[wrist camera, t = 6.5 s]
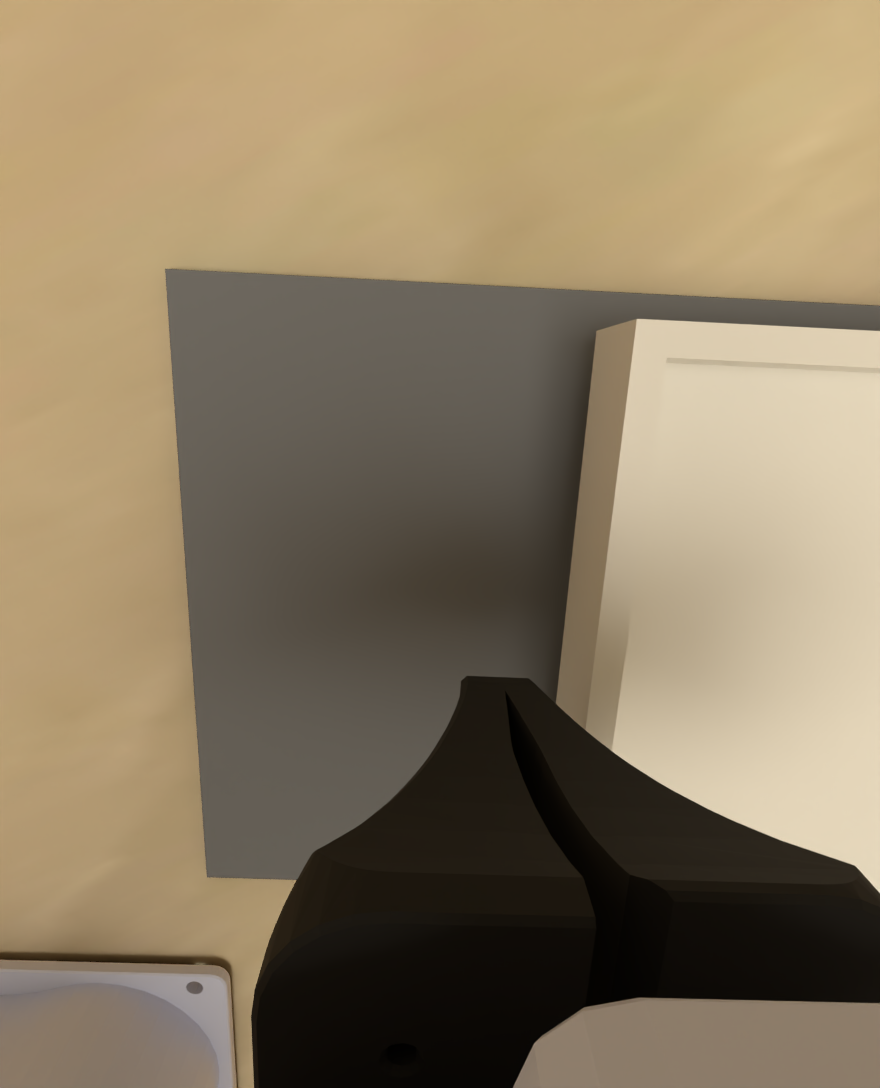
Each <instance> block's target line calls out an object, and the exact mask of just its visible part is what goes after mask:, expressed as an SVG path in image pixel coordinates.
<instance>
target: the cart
mask: <svg viewBox="0 0 880 1088" xmlns="http://www.w3.org/2000/svg"><path fill="white" fill-rule="evenodd" d="M556 704H557V705H558V706H559V707H560V708H561V709H562V710H563V711H564V712H565V713H566V714H568V715H569V716H570V717H571V718H572V719H573V720H574V721H575V722H577V723H578V724H579V725H580V726H581V727H582V728H583V729H585V730H586V731H587V732H588V733H589V734H591V735H592V736H593V737H594V738H596V739H597V740H598V741H599V742H601V743H602V744H603V745H605V746H606V747H607V748H609V749H610V750H611V751H612V752H614V753H615V754H616V755H618V756H619V757H621V758H622V759H623V760H625V761H626V762H628V763H629V764H631V765H632V766H634V767H635V768H637V769H638V770H640V771H642V772H643V773H645V774H646V775H648V776H649V777H651V778H653V779H654V780H656V781H657V782H659V783H661V784H662V785H664V786H666V787H668V788H669V789H671V790H673V791H675V792H676V793H678V794H680V795H682V796H684V797H686V798H688V799H690V800H692V801H694V802H696V803H698V804H699V805H701V806H703V807H705V808H707V809H709V810H711V811H713V812H715V813H718V814H720V815H722V816H724V817H726V818H728V819H731V820H733V821H735V822H737V823H740V824H742V825H745V826H747V827H749V828H752V829H754V830H757V831H759V832H761V833H764V834H766V835H769V836H771V837H773V838H776V839H779V840H781V841H784V842H787V843H790V844H793V845H796V846H799V847H802V848H805V849H808V850H811V851H814V852H816V853H819V854H822V855H825V856H828V857H831V858H834V859H837V860H840V861H843V862H846V863H849V864H852V865H855V866H856V867H857V868H858V869H859V870H860V871H861V873H862V874H863V875H864V876H865V877H866V878H867V879H868V880H869V881H870V883H871V884H872V885H873V886H874V887H875V888H876V889H877V891H878V892H879V893H880V331H868V330H848V329H828V328H809V327H789V326H769V325H750V324H730V323H711V322H691V321H671V320H652V319H634V320H631V321H628V322H624V323H621V324H618V325H614V326H611V327H607V328H604V329H601V330H597V331H596V340H595V350H594V359H593V368H592V377H591V386H590V395H589V405H588V414H587V423H586V432H585V441H584V450H583V459H582V469H581V478H580V487H579V496H578V505H577V514H576V524H575V533H574V542H573V551H572V560H571V569H570V579H569V588H568V597H567V606H566V615H565V624H564V634H563V643H562V652H561V661H560V670H559V679H558V689H557V698H556Z"/></svg>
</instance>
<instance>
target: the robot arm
mask: <svg viewBox="0 0 880 1088" xmlns="http://www.w3.org/2000/svg"><path fill="white" fill-rule="evenodd" d="M251 1021H252V1045H253V1069H254V1088H880V893H879V892H878V891H877V889H876V888H875V887H874V886H873V885H872V884H871V883H870V881H869V880H868V879H867V878H866V877H865V876H864V875H863V874H862V873H861V871H860V870H859V869H858V868H857V867H856V866H855V865H852V864H849V863H846V862H843V861H840V860H837V859H834V858H831V857H828V856H825V855H822V854H819V853H816V852H814V851H811V850H808V849H805V848H802V847H799V846H796V845H793V844H790V843H787V842H784V841H781V840H779V839H776V838H773V837H771V836H769V835H766V834H764V833H761V832H759V831H757V830H754V829H752V828H749V827H747V826H745V825H742V824H740V823H737V822H735V821H733V820H731V819H728V818H726V817H724V816H722V815H720V814H718V813H715V812H713V811H711V810H709V809H707V808H705V807H703V806H701V805H699V804H698V803H696V802H694V801H692V800H690V799H688V798H686V797H684V796H682V795H680V794H678V793H676V792H675V791H673V790H671V789H669V788H668V787H666V786H664V785H662V784H661V783H659V782H657V781H656V780H654V779H653V778H651V777H649V776H648V775H646V774H645V773H643V772H642V771H640V770H638V769H637V768H635V767H634V766H632V765H631V764H629V763H628V762H626V761H625V760H623V759H622V758H621V757H619V756H618V755H616V754H615V753H614V752H612V751H611V750H610V749H609V748H607V747H606V746H605V745H603V744H602V743H601V742H599V741H598V740H597V739H596V738H594V737H593V736H592V735H591V734H589V733H588V732H587V731H586V730H585V729H583V728H582V727H581V726H580V725H579V724H578V723H577V722H575V721H574V720H573V719H572V718H571V717H570V716H569V715H568V714H566V713H565V712H564V711H563V710H562V709H561V708H560V707H559V706H558V705H557V704H556V703H555V702H554V701H553V700H551V699H550V698H549V697H548V696H547V695H546V694H545V693H544V692H543V691H542V690H541V689H540V688H539V687H538V686H537V685H536V684H535V683H534V682H532V681H531V680H530V679H529V678H511V677H485V676H466V677H465V678H464V679H463V680H461V687H460V697H459V700H458V703H457V706H456V708H455V711H454V713H453V715H452V717H451V719H450V722H449V724H448V726H447V728H446V729H445V731H444V733H443V735H442V736H441V738H440V740H439V741H438V743H437V745H436V746H435V748H434V750H433V751H432V752H431V754H430V755H429V757H428V758H427V760H426V761H425V762H424V764H423V765H422V766H421V767H420V769H419V770H418V771H417V772H416V774H415V775H414V776H413V777H412V778H411V779H410V780H409V781H408V782H407V784H406V785H405V786H404V787H403V788H402V789H401V790H400V791H399V792H398V793H397V794H396V795H395V796H394V797H393V798H392V799H391V800H390V801H389V802H388V803H387V804H385V805H384V806H383V807H382V808H380V809H379V810H378V811H377V812H375V813H374V814H373V815H372V816H370V817H369V818H368V819H367V820H365V821H364V822H363V823H362V824H360V825H359V826H357V827H356V828H354V829H352V830H351V831H349V832H347V833H345V834H344V835H342V836H340V837H339V838H337V839H335V840H333V841H332V842H330V843H328V844H327V845H325V846H323V847H321V848H319V849H317V850H316V851H314V852H313V853H312V854H311V856H310V858H309V859H308V861H307V863H306V865H305V866H304V868H303V870H302V872H301V874H300V875H299V877H298V879H297V881H296V883H295V885H294V887H293V889H292V891H291V893H290V894H289V896H288V898H287V900H286V902H285V905H284V907H283V909H282V911H281V914H280V916H279V918H278V921H277V923H276V925H275V928H274V930H273V933H272V935H271V938H270V940H269V943H268V947H267V950H266V953H265V956H264V960H263V963H262V967H261V970H260V974H259V977H258V981H257V984H256V987H255V992H254V1000H253V1008H252V1015H251ZM0 1088H237V1085H236V1068H235V1051H234V1034H233V1017H232V1000H231V983H230V976H229V973H228V972H227V971H226V970H225V969H224V968H222V967H220V966H216V965H186V964H148V963H109V962H71V961H32V960H0Z"/></svg>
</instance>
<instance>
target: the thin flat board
mask: <svg viewBox="0 0 880 1088" xmlns="http://www.w3.org/2000/svg"><path fill="white" fill-rule="evenodd" d="M165 273H166V287H167V302H168V316H169V331H170V346H171V360H172V375H173V389H174V404H175V418H176V433H177V448H178V462H179V477H180V491H181V506H182V520H183V535H184V550H185V564H186V579H187V593H188V608H189V622H190V637H191V652H192V666H193V681H194V695H195V710H196V724H197V739H198V754H199V768H200V783H201V797H202V812H203V827H204V841H205V856H206V870H207V877H217V878H251V879H286V880H297V879H298V877H299V875H300V874H301V872H302V870H303V868H304V866H305V865H306V863H307V861H308V859H309V858H310V856H311V854H312V853H313V852H314V851H316V850H317V849H319V848H321V847H323V846H325V845H327V844H328V843H330V842H332V841H333V840H335V839H337V838H339V837H340V836H342V835H344V834H345V833H347V832H349V831H351V830H352V829H354V828H356V827H357V826H359V825H360V824H362V823H363V822H364V821H365V820H367V819H368V818H369V817H370V816H372V815H373V814H374V813H375V812H377V811H378V810H379V809H380V808H382V807H383V806H384V805H385V804H387V803H388V802H389V801H390V800H391V799H392V798H393V797H394V796H395V795H396V794H397V793H398V792H399V791H400V790H401V789H402V788H403V787H404V786H405V785H406V784H407V782H408V781H409V780H410V779H411V778H412V777H413V776H414V775H415V774H416V772H417V771H418V770H419V769H420V767H421V766H422V765H423V764H424V762H425V761H426V760H427V758H428V757H429V755H430V754H431V752H432V751H433V750H434V748H435V746H436V745H437V743H438V741H439V740H440V738H441V736H442V735H443V733H444V731H445V729H446V728H447V726H448V724H449V722H450V719H451V717H452V715H453V713H454V711H455V708H456V706H457V703H458V700H459V697H460V687H461V680H463V679H464V678H465V677H466V676H485V677H511V678H529V679H530V680H531V681H532V682H534V683H535V684H536V685H537V686H538V687H539V688H540V689H541V690H542V691H543V692H544V693H545V694H546V695H547V696H548V697H549V698H550V699H551V700H553V701H554V702H555V703H556V698H557V689H558V679H559V670H560V661H561V652H562V643H563V634H564V624H565V615H566V606H567V597H568V588H569V579H570V569H571V560H572V551H573V542H574V533H575V524H576V514H577V505H578V496H579V487H580V478H581V469H582V459H583V450H584V441H585V432H586V423H587V414H588V405H589V395H590V386H591V377H592V368H593V359H594V350H595V340H596V331H597V330H601V329H604V328H607V327H611V326H614V325H618V324H621V323H624V322H628V321H631V320H634V319H652V320H671V321H691V322H711V323H730V324H750V325H769V326H789V327H809V328H828V329H848V330H868V331H880V306H872V305H853V304H834V303H814V302H795V301H776V300H756V299H737V298H718V297H699V296H679V295H660V294H641V293H622V292H602V291H583V290H564V289H544V288H525V287H506V286H487V285H467V284H448V283H429V282H410V281H390V280H371V279H352V278H333V277H313V276H294V275H275V274H255V273H236V272H217V271H198V270H178V269H165Z"/></svg>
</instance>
